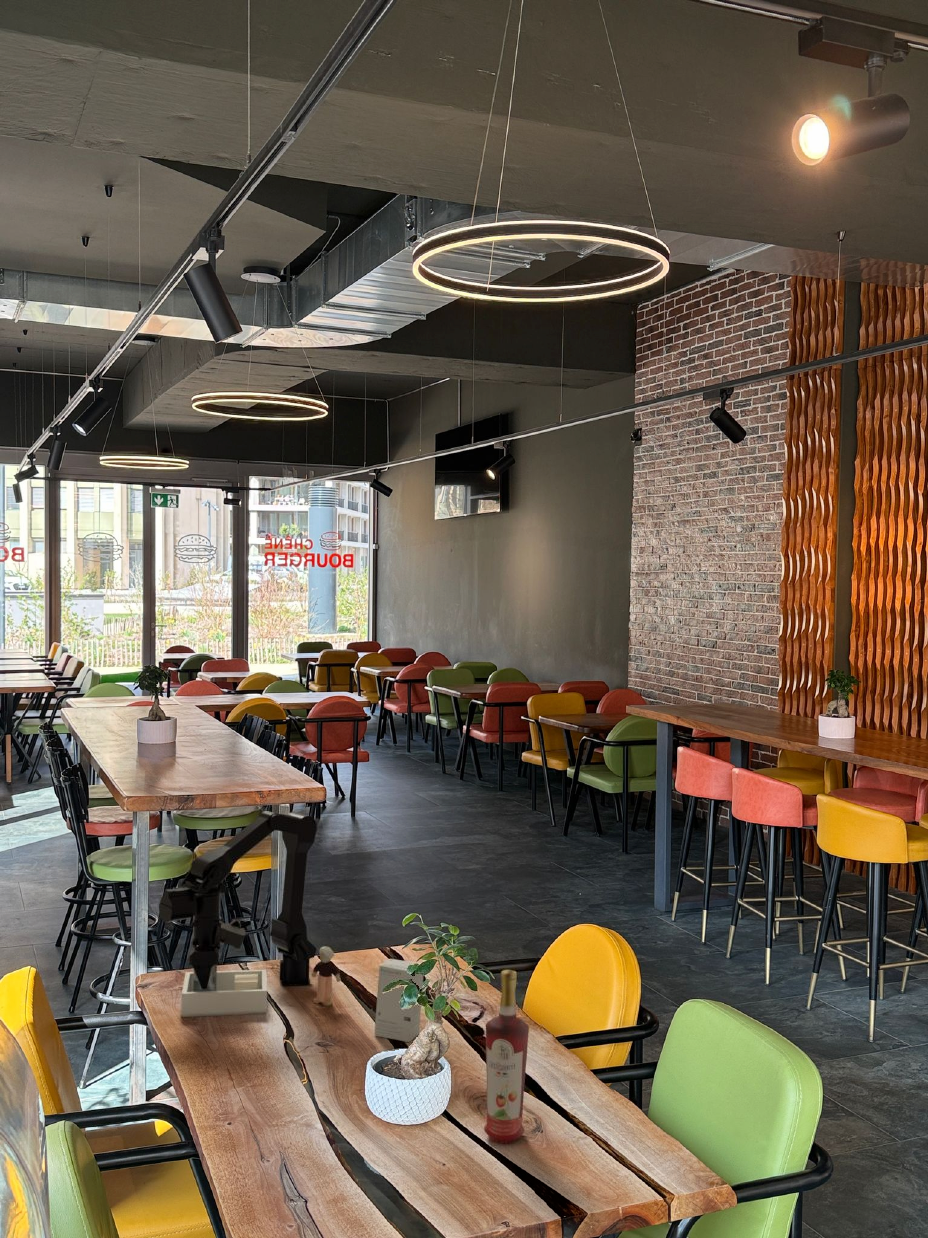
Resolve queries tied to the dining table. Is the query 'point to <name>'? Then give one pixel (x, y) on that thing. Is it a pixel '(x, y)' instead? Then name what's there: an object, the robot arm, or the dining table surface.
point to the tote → (224, 996)
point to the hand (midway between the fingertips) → (205, 984)
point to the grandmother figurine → (325, 976)
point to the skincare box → (396, 1003)
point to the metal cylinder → (211, 983)
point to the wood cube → (246, 982)
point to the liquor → (506, 1066)
